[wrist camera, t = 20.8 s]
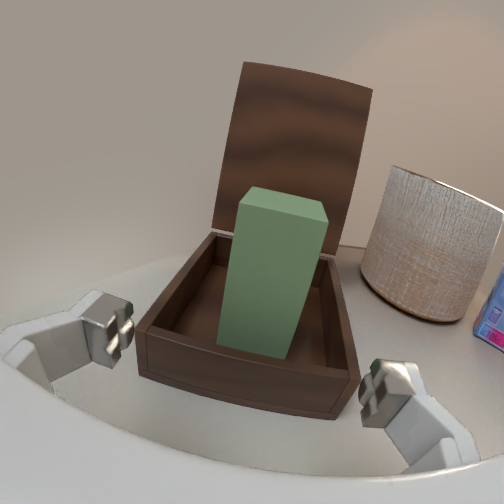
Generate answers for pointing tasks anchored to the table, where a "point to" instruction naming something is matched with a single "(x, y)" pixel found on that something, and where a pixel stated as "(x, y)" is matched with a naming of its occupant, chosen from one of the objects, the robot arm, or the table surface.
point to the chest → (242, 362)
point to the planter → (429, 246)
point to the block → (270, 270)
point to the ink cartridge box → (493, 315)
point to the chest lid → (293, 142)
